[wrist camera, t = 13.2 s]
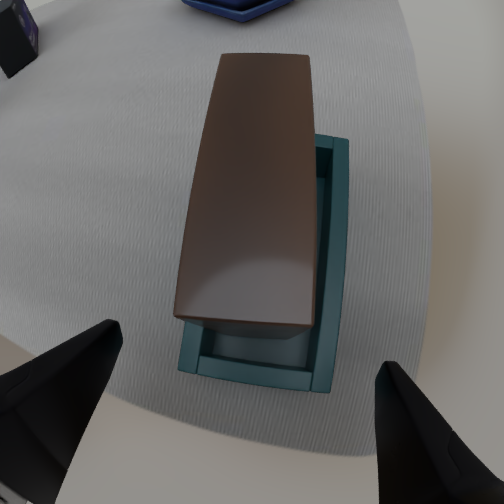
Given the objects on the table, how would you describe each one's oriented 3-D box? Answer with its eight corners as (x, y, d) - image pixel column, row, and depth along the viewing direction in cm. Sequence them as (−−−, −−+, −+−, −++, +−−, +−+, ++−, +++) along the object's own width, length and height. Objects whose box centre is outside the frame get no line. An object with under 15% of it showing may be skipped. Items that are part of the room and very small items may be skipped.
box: (41, 55, 32) (9, 4, 20) (8, 80, 31) (-26, 33, 19) (40, 26, 36) (18, -13, 25) (14, 46, 36) (-11, 8, 24)
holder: (337, 172, 21) (349, 138, 18) (317, 384, 17) (330, 393, 13) (235, 160, 22) (228, 125, 18) (195, 366, 18) (176, 370, 14)
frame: (294, 186, 21) (309, 54, 10) (288, 339, 18) (314, 328, 7) (243, 184, 21) (220, 52, 10) (228, 335, 18) (171, 316, 7)
